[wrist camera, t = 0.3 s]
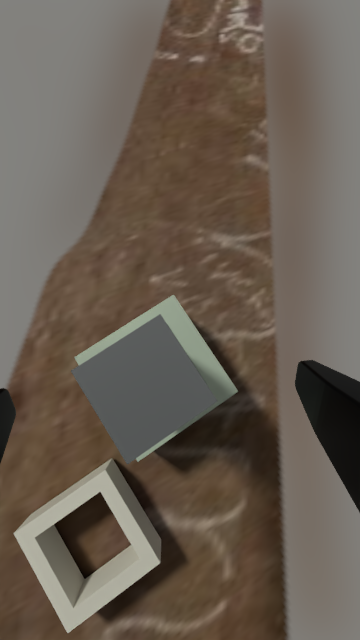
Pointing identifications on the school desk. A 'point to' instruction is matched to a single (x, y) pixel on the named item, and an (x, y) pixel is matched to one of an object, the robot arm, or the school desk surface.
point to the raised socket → (190, 344)
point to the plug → (143, 388)
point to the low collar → (60, 568)
